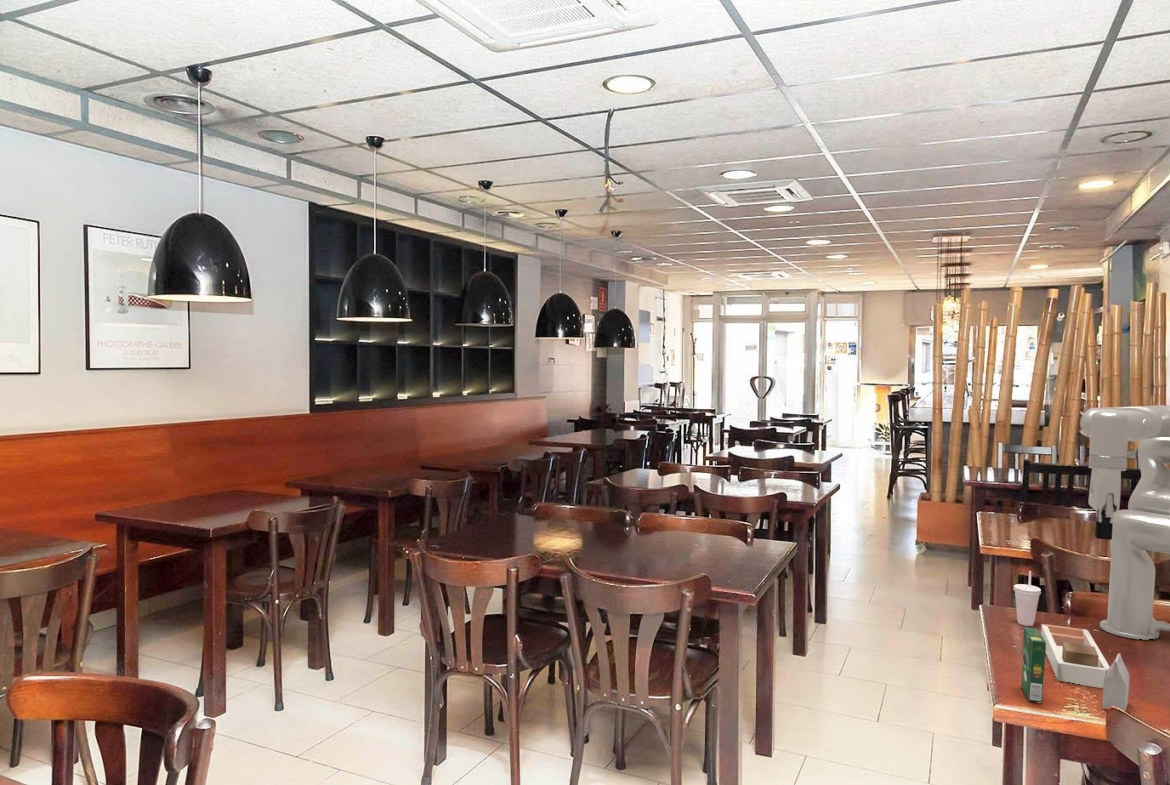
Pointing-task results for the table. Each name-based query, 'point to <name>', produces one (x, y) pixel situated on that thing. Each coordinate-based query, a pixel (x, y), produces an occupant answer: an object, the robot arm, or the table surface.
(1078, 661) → the block
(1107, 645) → the table surface
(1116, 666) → the milk carton
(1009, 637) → the table surface
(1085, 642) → the box
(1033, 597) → the smoothie
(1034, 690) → the coffee box
